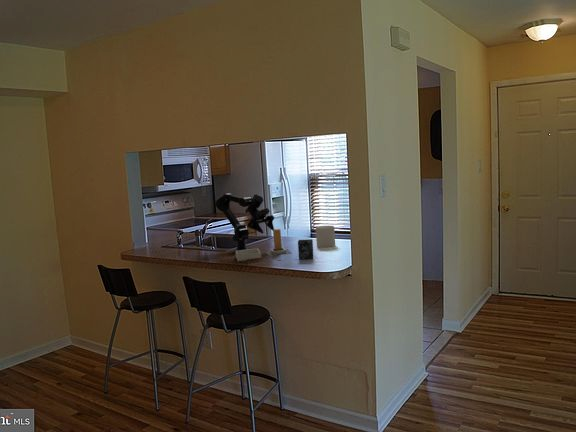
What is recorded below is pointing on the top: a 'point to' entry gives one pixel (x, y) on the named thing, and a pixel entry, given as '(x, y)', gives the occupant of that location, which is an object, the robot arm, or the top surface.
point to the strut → (277, 239)
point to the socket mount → (278, 252)
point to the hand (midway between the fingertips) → (268, 231)
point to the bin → (247, 254)
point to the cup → (325, 236)
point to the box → (305, 249)
